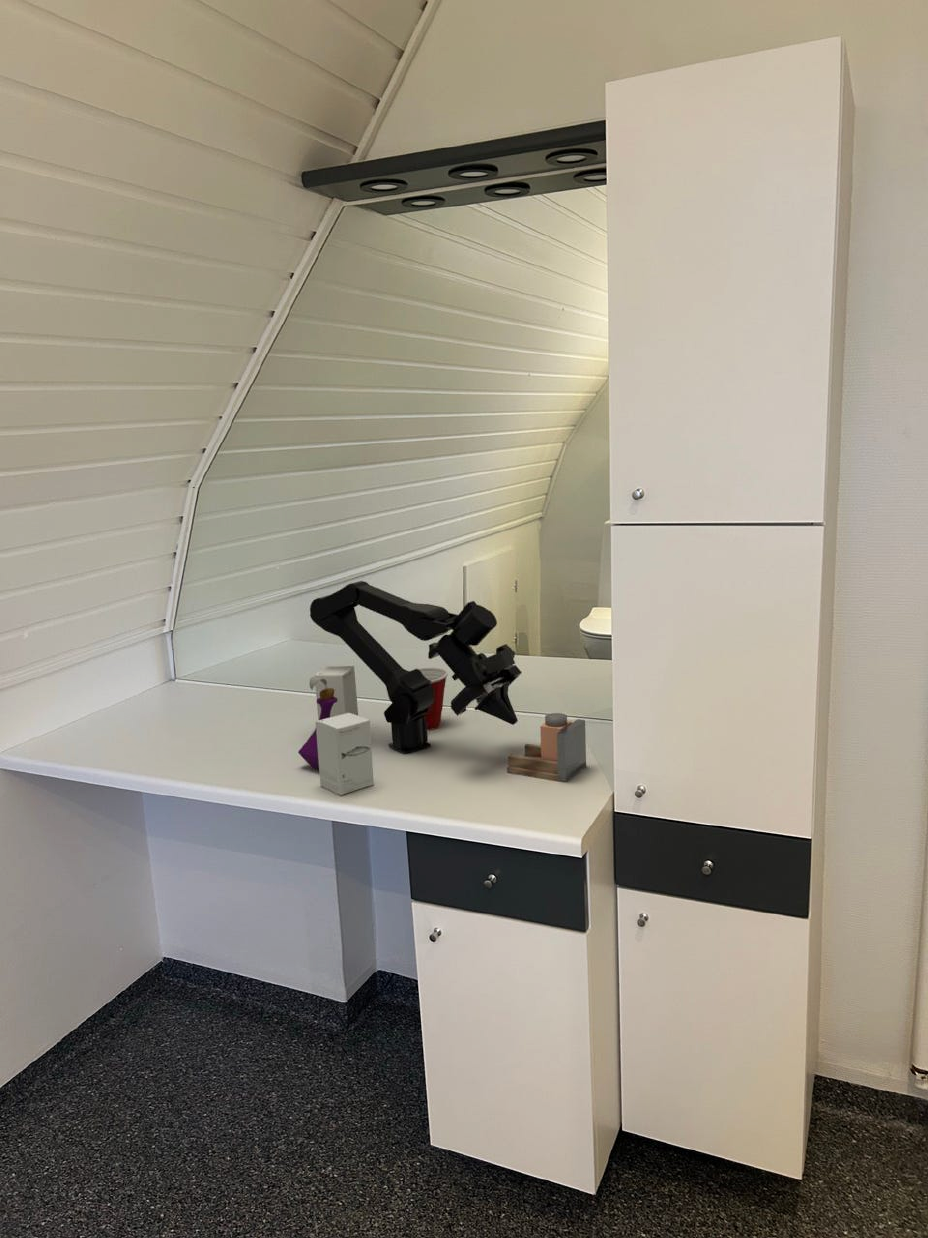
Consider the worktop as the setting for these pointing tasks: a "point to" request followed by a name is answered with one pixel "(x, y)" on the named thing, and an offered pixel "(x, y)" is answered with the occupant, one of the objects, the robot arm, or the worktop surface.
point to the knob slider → (552, 734)
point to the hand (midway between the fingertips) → (515, 723)
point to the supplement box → (344, 753)
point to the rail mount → (568, 752)
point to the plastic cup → (438, 684)
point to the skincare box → (339, 689)
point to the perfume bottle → (326, 703)
